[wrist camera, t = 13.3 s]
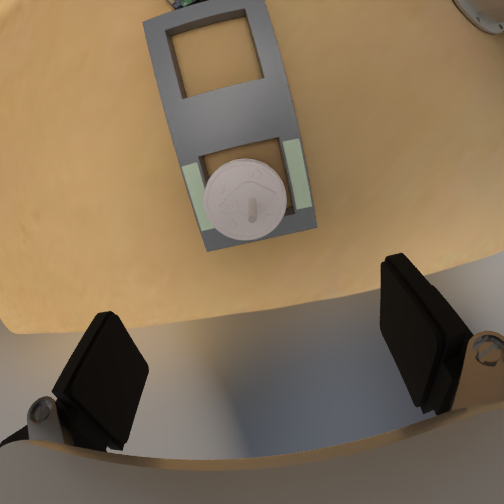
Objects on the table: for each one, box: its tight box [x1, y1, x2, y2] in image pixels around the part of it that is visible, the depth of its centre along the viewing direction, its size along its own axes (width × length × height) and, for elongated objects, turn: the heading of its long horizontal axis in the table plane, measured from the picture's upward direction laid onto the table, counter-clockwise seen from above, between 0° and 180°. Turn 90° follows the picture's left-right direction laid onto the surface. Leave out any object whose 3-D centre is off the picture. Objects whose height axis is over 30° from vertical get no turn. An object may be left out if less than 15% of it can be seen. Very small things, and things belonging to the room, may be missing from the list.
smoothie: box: [203, 158, 287, 240], centre depth 24 cm, size 6×6×14 cm
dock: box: [142, 0, 317, 252], centre depth 26 cm, size 12×26×3 cm, turn 13°
